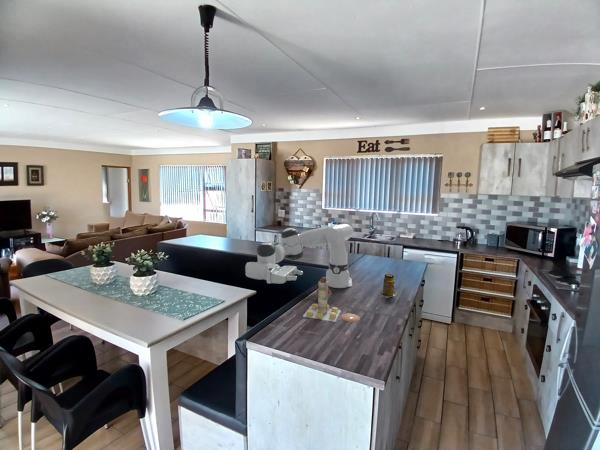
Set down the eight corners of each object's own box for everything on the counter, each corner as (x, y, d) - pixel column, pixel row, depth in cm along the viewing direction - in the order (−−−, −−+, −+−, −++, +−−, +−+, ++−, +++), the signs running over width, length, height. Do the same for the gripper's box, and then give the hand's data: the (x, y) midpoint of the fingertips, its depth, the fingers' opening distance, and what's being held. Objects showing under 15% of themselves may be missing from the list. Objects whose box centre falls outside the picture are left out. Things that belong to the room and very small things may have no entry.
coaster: (342, 313, 157) (342, 312, 157) (360, 316, 155) (361, 315, 154) (339, 321, 149) (339, 319, 149) (358, 324, 146) (358, 322, 146)
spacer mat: (310, 306, 165) (310, 302, 165) (340, 311, 160) (341, 306, 160) (302, 317, 152) (302, 312, 151) (335, 323, 147) (335, 317, 146)
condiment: (396, 295, 185) (397, 275, 183) (386, 298, 180) (387, 278, 179) (386, 291, 191) (388, 272, 189) (377, 294, 186) (378, 274, 185)
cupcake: (318, 303, 170) (319, 282, 168) (313, 297, 178) (314, 277, 176) (333, 302, 172) (334, 281, 171) (328, 296, 180) (328, 276, 179)
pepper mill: (318, 310, 159) (320, 275, 156) (327, 312, 157) (329, 276, 155) (316, 314, 154) (317, 277, 152) (325, 315, 153) (326, 279, 150)
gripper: (281, 273, 172) (305, 276, 167) (265, 284, 152) (292, 287, 148) (281, 261, 171) (305, 264, 166) (265, 271, 151) (292, 275, 147)
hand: (299, 275), depth 157 cm, fingers open, 8 cm apart
